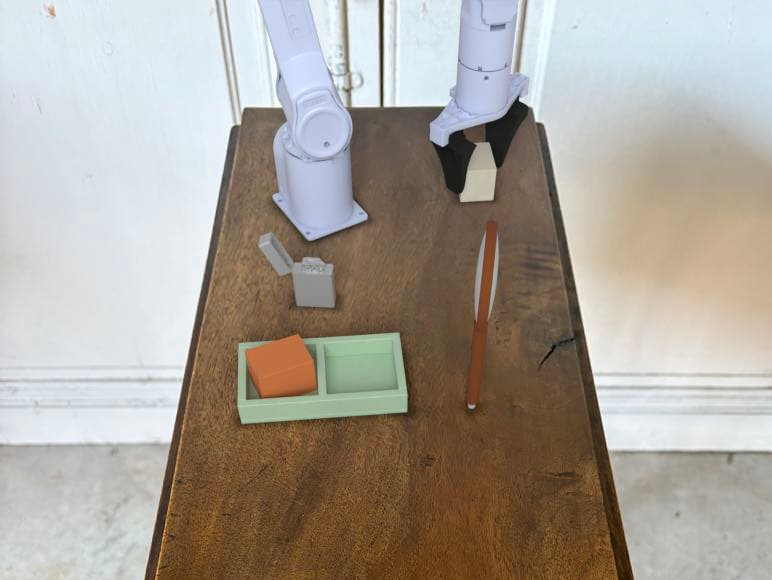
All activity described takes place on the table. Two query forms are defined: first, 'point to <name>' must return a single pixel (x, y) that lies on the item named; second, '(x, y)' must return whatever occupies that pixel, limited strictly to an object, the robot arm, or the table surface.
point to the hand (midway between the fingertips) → (474, 176)
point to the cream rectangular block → (480, 175)
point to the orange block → (281, 368)
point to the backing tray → (334, 381)
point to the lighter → (302, 274)
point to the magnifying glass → (482, 307)
